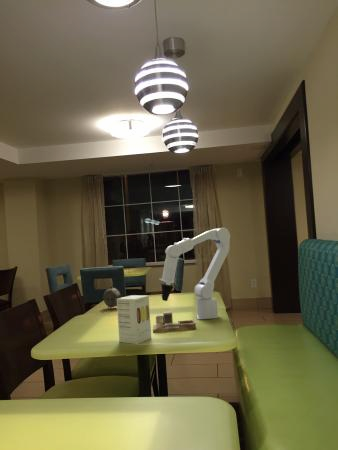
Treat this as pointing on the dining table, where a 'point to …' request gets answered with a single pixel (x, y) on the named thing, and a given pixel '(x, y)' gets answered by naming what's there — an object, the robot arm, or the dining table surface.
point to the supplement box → (134, 319)
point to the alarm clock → (111, 296)
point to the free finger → (168, 317)
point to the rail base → (172, 325)
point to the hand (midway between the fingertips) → (164, 299)
